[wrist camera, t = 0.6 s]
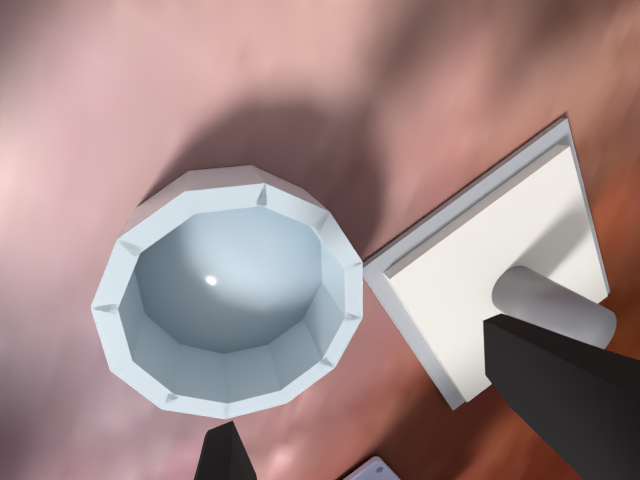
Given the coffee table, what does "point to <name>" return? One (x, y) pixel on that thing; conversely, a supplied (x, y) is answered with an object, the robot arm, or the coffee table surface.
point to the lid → (508, 270)
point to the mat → (439, 220)
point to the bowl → (228, 294)
